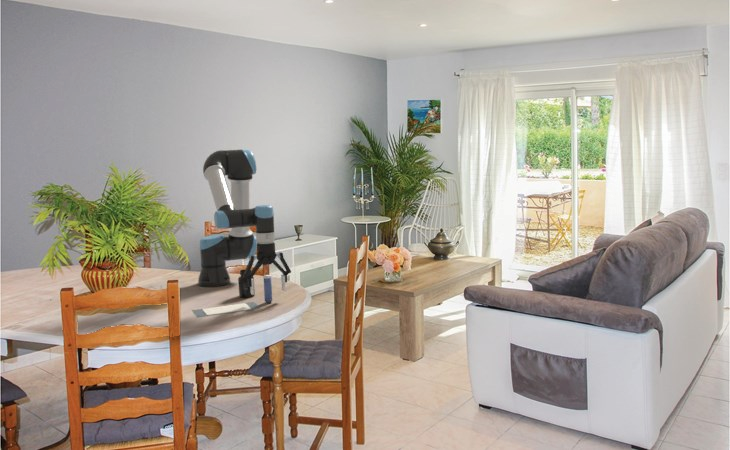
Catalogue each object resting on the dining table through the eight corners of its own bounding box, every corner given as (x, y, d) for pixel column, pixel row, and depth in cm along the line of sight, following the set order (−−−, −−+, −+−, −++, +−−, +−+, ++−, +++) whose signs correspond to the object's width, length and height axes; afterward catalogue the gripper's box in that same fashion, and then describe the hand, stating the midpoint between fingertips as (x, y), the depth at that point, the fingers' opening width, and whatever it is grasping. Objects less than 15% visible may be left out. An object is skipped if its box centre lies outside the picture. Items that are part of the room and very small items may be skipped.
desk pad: (191, 311, 259) (191, 310, 258) (253, 302, 270) (253, 301, 269) (197, 318, 248) (197, 317, 248) (261, 309, 259) (261, 308, 259)
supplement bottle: (257, 295, 281) (256, 269, 280) (250, 299, 275) (248, 272, 273) (244, 294, 284) (242, 268, 282) (236, 298, 277) (234, 271, 276)
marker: (263, 303, 268) (262, 275, 266) (271, 302, 269) (269, 274, 268) (265, 304, 265) (264, 277, 263) (273, 303, 266) (272, 276, 265)
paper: (202, 309, 259) (202, 309, 259) (245, 303, 267) (245, 303, 267) (207, 315, 250) (207, 314, 250) (251, 309, 258) (251, 308, 258)
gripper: (238, 246, 255) (241, 297, 258) (297, 240, 265) (299, 290, 268) (233, 244, 262) (236, 294, 264) (291, 238, 272) (293, 286, 275)
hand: (268, 292), depth 266 cm, fingers open, 13 cm apart
